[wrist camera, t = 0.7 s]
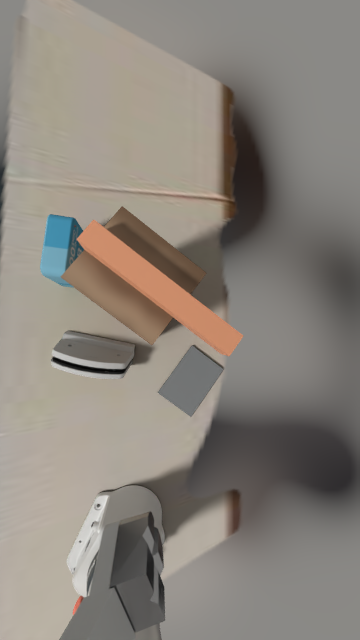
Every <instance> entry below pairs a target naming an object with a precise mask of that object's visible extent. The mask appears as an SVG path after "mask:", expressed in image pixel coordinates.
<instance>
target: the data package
mask: <svg viewBox="0 0 360 640" xmlns="http://www.w3.org/2000/svg"><path fill="white" fill-rule="evenodd" d="M82 232H83V230H82V228H81V227H80V225H79V224H78V222H77V221H76V219H75V218H72V217H65V216H59V215H52V214H50V215H49V216H48V218H47V223H46V230H45V237H44V244H43V251H42V258H41V265H40V269H41V273H42V274H43V275H44V276H45V277H47V278H49V279H51V280H52V281H54V282H56V283H58V284H60V285H61V286H66V287H73V286H72V285H70V284H69V283H68V282H66V281H65V280H64V279H62V278H61V276H62V275H63V273H64V272H65V271H66V270H67V269H68V268H69V267H70V265H71V264H72V263H73V262H74V261H75V260H76V258H77V257H78V256H79V255H80V254H81V253H82V252H83V250H84V248H83V247H82V246H81V244H80V243H79V242H78V241H77V238H78V237H79V236H80V234H81V233H82Z"/></svg>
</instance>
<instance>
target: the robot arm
mask: <svg viewBox="0 0 360 640" xmlns="http://www.w3.org/2000/svg"><path fill="white" fill-rule="evenodd" d="M97 504H100V505H97ZM164 541H165V533H164V530H163V527H162V508H161V504H160V502H159V500H158V498H157V497H156V495H155V494H154V493H153V492H152V491H150V490H149V489H147V488H145V487H142V486H137V485H131V486H125V487H122V488H120V489H118V490H115V491H112V492H101V493H99V494H98V495H97V496H96V498H95V500H94V502H93V504H92V506H91V509H90V511H89V513H88V515H87V517H86V519H85V521H84V523H83V525H82V527H81V529H80V531H79V533H78V536H77V538H76V540H75V542H74V544H73V546H72V548H71V550H70V552H69V554H68V557H67V565H68V567H69V569H70V571H71V573H72V574H73V578H72V582H73V586H74V588H75V590H76V592H77V593H78V594H79V595H80V597H79V599H78V600H77V602H76V604H75V607H74V610H73V617H72V619H71V621H70V622H69V624H68V626H67V627H66V629H65V631H64V632H63V634H62V636H61V638H60V639H59V640H162V639H161V632H160V622H163V621H165V601H164V600H165V597H164V585H163V582H162V580H161V577H160V575H161V572H162V570H163V568H164V562H163V549H162V545H163V544H164Z"/></svg>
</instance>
